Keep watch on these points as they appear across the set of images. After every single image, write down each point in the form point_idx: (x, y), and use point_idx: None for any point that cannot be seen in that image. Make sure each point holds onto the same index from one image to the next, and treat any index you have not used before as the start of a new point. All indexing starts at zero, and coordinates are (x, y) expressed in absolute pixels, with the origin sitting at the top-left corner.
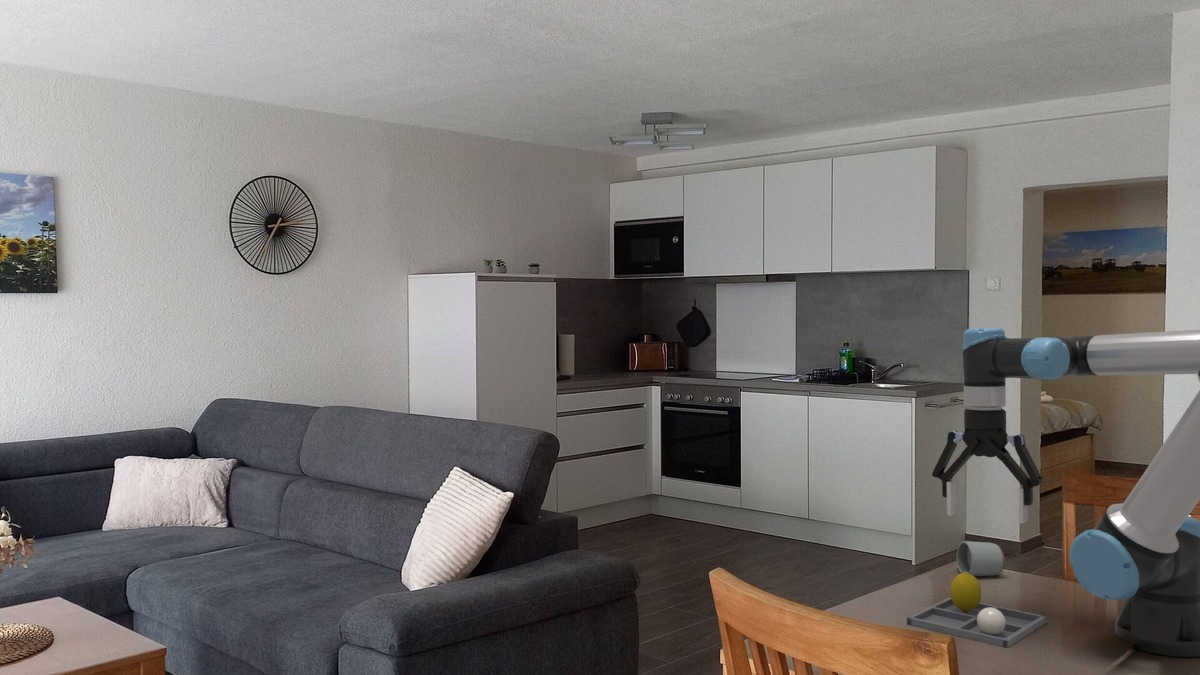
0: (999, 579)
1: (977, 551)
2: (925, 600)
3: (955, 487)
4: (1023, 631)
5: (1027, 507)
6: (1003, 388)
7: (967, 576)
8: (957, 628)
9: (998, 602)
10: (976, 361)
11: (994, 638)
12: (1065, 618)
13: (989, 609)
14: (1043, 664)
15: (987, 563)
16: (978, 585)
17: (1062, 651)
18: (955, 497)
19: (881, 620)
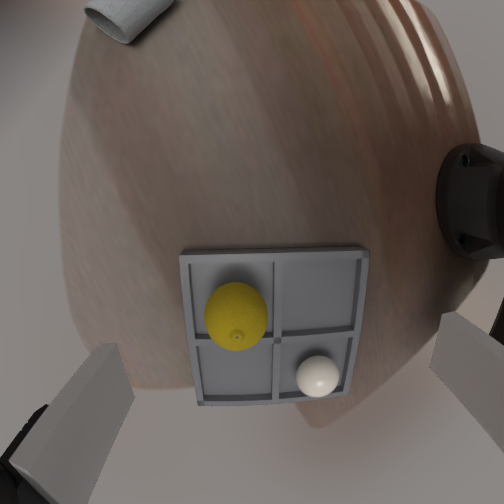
0: (177, 14)
1: (126, 11)
2: (129, 240)
3: (53, 443)
4: (357, 348)
5: (491, 340)
6: None
7: (245, 343)
8: (276, 401)
9: (236, 146)
10: None
11: (330, 397)
12: (366, 165)
13: (322, 394)
14: (382, 382)
15: (152, 13)
16: (266, 323)
17: (396, 329)
18: (81, 400)
19: (151, 381)
